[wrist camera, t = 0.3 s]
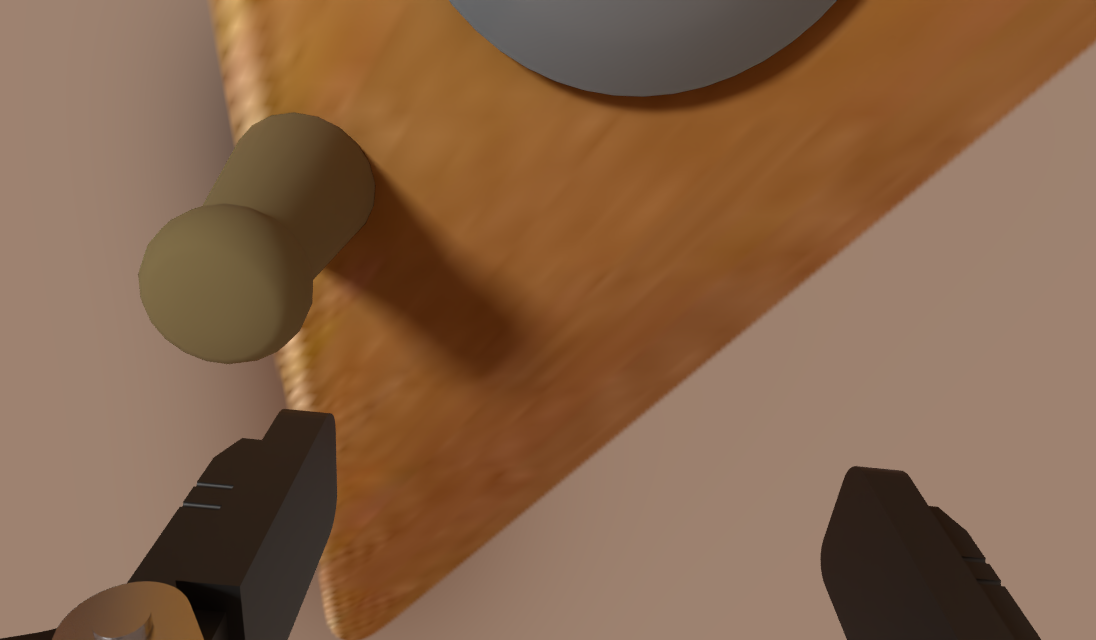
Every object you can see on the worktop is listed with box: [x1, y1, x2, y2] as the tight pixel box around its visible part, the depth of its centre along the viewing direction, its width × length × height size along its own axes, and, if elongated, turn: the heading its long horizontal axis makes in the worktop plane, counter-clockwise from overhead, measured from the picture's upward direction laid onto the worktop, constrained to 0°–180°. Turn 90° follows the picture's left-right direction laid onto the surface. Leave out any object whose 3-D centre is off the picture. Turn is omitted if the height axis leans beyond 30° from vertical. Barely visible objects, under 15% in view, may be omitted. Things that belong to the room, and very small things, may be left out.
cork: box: [138, 113, 375, 364], centre depth 28 cm, size 6×6×11 cm
